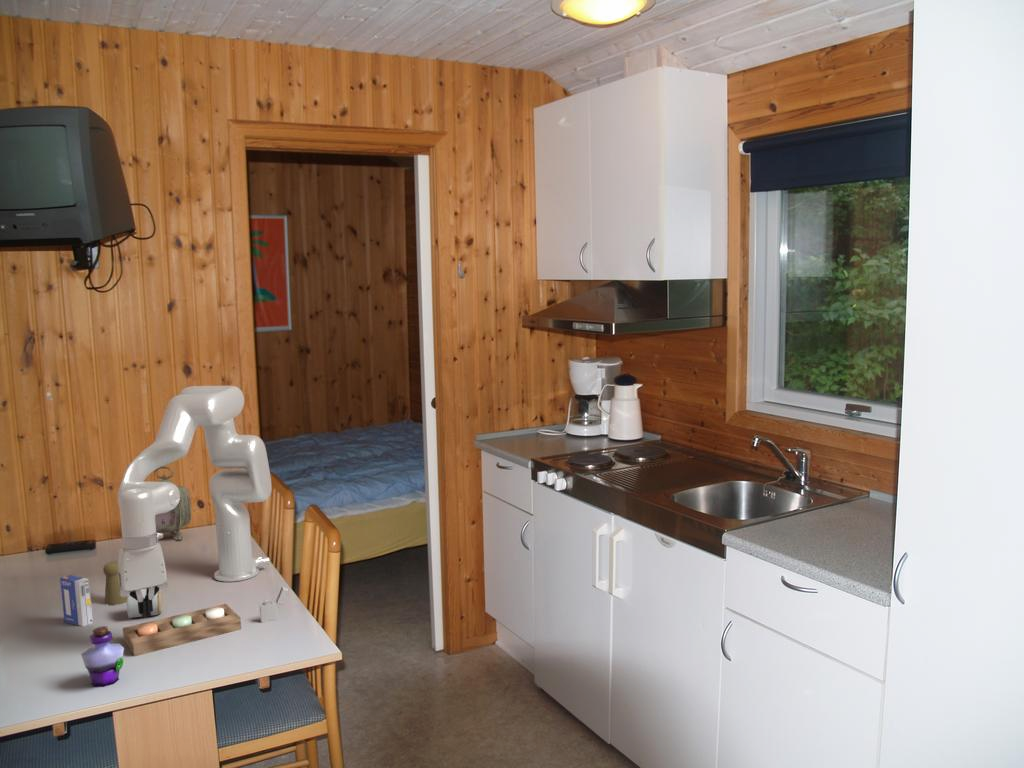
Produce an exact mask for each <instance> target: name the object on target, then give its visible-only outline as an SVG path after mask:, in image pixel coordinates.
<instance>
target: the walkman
mask: <svg viewBox="0 0 1024 768" xmlns="http://www.w3.org/2000/svg"><path fill="white" fill-rule="evenodd" d="M59 581H60V591H61V599H62V601H61V602H62V609H63V610H62V611H63V621H64V622H66V623H68V624H69V623H70V624H71V625H76V626H81V627H85V626H88V625H92V624H93V623H94V622H93V621H94V619H93V609H92V599H91V593H90V582H89V578H86V577H85V578H84V577H81V576H77V575H72V574H69V575H66V576H62V577H60V579H59Z"/></svg>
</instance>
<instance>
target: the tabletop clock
mask: <svg viewBox="0 0 1024 768" xmlns="http://www.w3.org/2000/svg"><path fill="white" fill-rule="evenodd" d="M161 469H167V470H169V471H170V472H171V475H170V476H167V475H166V474H162V476H161V475H157V471H158V470H161ZM153 472H154V473H153V474H154V476H155V477H156V478H158V479H161V480H159V481H158V482H170V483H173V482H172V481H171V480H170V478H172V477H173V476H174V470H173V469H172V468H170V467H169V466H166V465H164V466H162V467H160V468H158V469H156V470H154V471H153ZM176 486H177V487H178V489H179V491H180V500H179V503H178V505H177V506H176V507H175V508H174V509H173V510H171V511H169V512H166V513H162V514H157V515H155V522H156V532H158V533H169V535H170V536H171V537H175V536H176V533H177V540H178V541H182V540H183V536H182V535H181V533H180V529H182V528H184V527H186V526H187V525H189V524H190V523H191V521H192V500H191V495H190V492H189V489H188V488H187V487H185V486H182V485H176Z"/></svg>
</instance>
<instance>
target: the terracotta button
mask: <svg viewBox="0 0 1024 768" xmlns="http://www.w3.org/2000/svg"><path fill="white" fill-rule="evenodd" d="M153 633H158V628H157V624H154V623H149V624H144V625H141V626H139V627H138V637H141V636H145V635H149V634H153Z"/></svg>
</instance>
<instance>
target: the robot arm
mask: <svg viewBox="0 0 1024 768" xmlns="http://www.w3.org/2000/svg"><path fill="white" fill-rule="evenodd" d="M244 405H245V396H244V393H243V391H242V390H241V389H240V388H239V387H237V386H236V385H235V386H234V385H193V386H188V387H185V388H183V389H182V390H181V391H180V392H179V394H178V395H175V396H173V397H172V398H171V399H170V400H169V402H168V405H167V406H166V410H165V412H164V415H163V418H162V421H161V423H160V427H159V428H158V432H157V434H156V437H155V439H154V441H153V443H152V444H150V445H149V446H148V447H146V448H145V449H143V450H142V452H140V453H139V454H138V455H137V456H136V457H135V458H134V459H133V460H132V461H131V462H130V463H129V465H128V466H127V468H126V469H125V471H124V474H123V476H122V479H121V481H120V484H119V487H118V492H117V503H118V506H119V515H120V524H121V525H120V526H121V527H120V529H121V538H122V547H121V548H119V551H118V558H117V559H118V560H117V561H118V576H119V585H120V587H121V588H120V595H121V596H122V597H132V598H134V599H136V600H137V601H138V611H139V614H141V615H142V616H143V617H142V618H145V619H146V618H147V617H149V618H151V617H152V616H151V612H152V611H153V604H152V599H153V598H154V596H155V595H156V593H157V592H158V591H159V590H162V591H163V590H164V589H165V588H168V587H169V584H168V582H167V569H166V563H165V556H164V553H163V549H162V545H161V543H160V542H159V540H161V539H163V538H164V534H163V533H164V532H156V522H155V515H157V514H162V513H166V512H169V511H171V510H173V509H174V508H175V507H176V506H177V505H178V503H179V500H180V491H179V489H178V487H177V486H178V485H176V484H175V483H173V482H172V483H170V482H159V481H145V480H146V478H147V477H148V476H150V475H151V474H152V473H153V472H154V471H155V470H156V469H158V468H160V467H162V466H166V465H169V464H171V463H173V462H176V461H178V460H180V459H182V458H184V457H185V456H186V455H188V453H189V451H190V447H191V444H192V441H193V438H194V435H195V432H196V430H197V428H198V427H202V430H203V432H204V433H203V435H204V439H205V444H206V449H207V454H208V458H209V461H210V463H211V465H212V466H213V467H215V468H218V469H219V468H220V469H222V470H218V471H216V472H214V473H213V474H212V475H211V477H210V479H209V483H208V484H209V486H208V487H209V493H210V497H211V500H212V504H213V509H214V510H213V511H214V518H215V531H216V543H217V544H216V545H217V558H218V570H217V569H216V571H214V573H213V578H214V579H215V580H217V581H219V582H239V581H245V580H248V579H252V578H253V577H255V576H257V575H258V574H259V573H260V570H259V569H260V568H259V566H260V565H266V564H267V565H268V564H270V558H269V556H265V557H262V556H259V557H254V556H253V549H252V548H253V547H252V534H251V519H250V513H249V510H248V508H247V507H246V506H245V504H244V503H262V502H265V501H266V500H268V499H269V498H270V497H271V494H272V477H271V472H270V465H269V460H268V453H267V449H266V445H265V442H264V441H263V439H262V438H261V437H259V436H257V435H253V434H239V433H237V430H236V426H235V422H234V421H235V420H234V418H236V417H238V416H239V415H240V414H241V412H243V408H244ZM158 470H159V469H158ZM141 589H146V596H145V598H143V596H142V592H141Z"/></svg>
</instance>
